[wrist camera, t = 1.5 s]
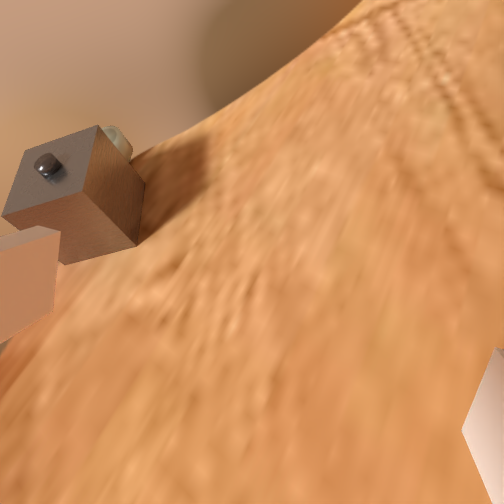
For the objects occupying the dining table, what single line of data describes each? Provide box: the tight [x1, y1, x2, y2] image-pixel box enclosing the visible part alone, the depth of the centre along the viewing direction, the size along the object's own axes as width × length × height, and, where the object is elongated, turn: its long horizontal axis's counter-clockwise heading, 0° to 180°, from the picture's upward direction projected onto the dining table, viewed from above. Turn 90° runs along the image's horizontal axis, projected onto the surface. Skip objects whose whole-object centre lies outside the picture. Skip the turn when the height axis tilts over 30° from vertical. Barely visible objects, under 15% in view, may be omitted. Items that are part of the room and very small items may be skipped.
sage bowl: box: [101, 126, 133, 162], centre depth 62 cm, size 6×6×4 cm
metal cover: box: [1, 125, 145, 265], centre depth 52 cm, size 10×10×11 cm
